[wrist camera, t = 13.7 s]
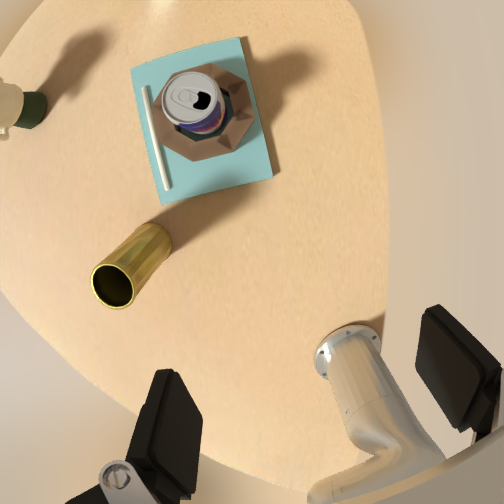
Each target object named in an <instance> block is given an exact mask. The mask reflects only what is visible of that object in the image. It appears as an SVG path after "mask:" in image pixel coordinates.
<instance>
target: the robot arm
mask: <svg viewBox="0 0 504 504" xmlns="http://www.w3.org/2000/svg"><path fill="white" fill-rule="evenodd" d="M380 351H381V340H380V337H379V336H378V334H377V333H376V332H375V331H374V329H372V328H370V327H368V326H365V325H350V326H345V327H343V328H340V329H338V330H336V331H334V332H333V333H331V334H330V335H328V336H327V337H326V338H325V339H324V340H323V341H322V342H321V343H320V345H319V346H318V348H317V350H316V352H315V356H314V364H315V368H316V370H317V372H318V374H319V375H320V376H322V377H323V378H325V379H327V380H329V381H330V384H331V387H332V390H333V393H334V396H335V399H336V402H337V405H338V408H339V410H340V413H341V416H342V419H343V422H344V425H345V428H346V432H347V435H348V437H349V439H350V441H351V442H352V443H353V444H354V445H355V446H356V447H357V448H359V449H360V450H362V451H365V452H367V453H369V454H372V455H375V456H374V457H372V458H370V459H368V460H366V461H365V462H363V463H361V464H359V465H356V466H354V467H352V468H349V469H347V470H344V471H342V472H339V473H337V474H334V475H332V476H329V477H326V478H324V479H322V480H320V481H318V482H316V483H315V484H314V485H313V486H312V487H311V488H310V490H309V492H308V495H307V504H504V369H502V368H501V364H500V363H499V362H498V361H497V360H496V359H495V358H494V356H493V355H492V354H491V353H489V351H488V350H487V349H486V348H485V347H484V346H483V345H482V344H481V343H480V342H479V341H478V340H477V339H476V338H475V337H474V336H473V335H472V334H471V333H470V332H469V331H468V330H467V329H466V328H465V327H464V326H463V325H462V324H461V323H460V322H458V321H457V320H456V319H455V318H454V317H453V316H452V315H451V314H450V313H449V312H448V311H447V310H446V309H444V307H442V306H441V305H440V304H437V305H435V306H432V307H430V308H427V309H426V310H425V313H424V314H423V315H422V320H421V328H420V337H419V343H418V350H417V356H416V362H415V367H416V371H417V373H418V374H419V375H420V377H421V378H422V380H423V381H424V383H425V384H426V386H427V387H428V389H429V390H430V392H431V393H432V395H433V397H434V398H435V400H436V401H437V403H438V404H439V406H440V407H441V409H442V410H443V412H444V414H445V415H446V417H447V419H448V420H449V422H450V423H451V425H452V427H453V428H455V429H456V428H457V429H458V430H459V432H460V433H461V432H463V431H465V430H467V429H468V428H470V427H471V428H472V429H473V431H474V433H473V437H472V442H471V446H470V447H468V448H466V449H465V450H463V451H461V452H459V453H457V454H456V455H454V456H452V457H450V458H449V459H446V457H445V455H444V454H443V452H442V451H441V449H440V448H439V447H438V446H437V445H436V443H435V442H434V441H433V440H432V438H431V437H430V436H429V435H428V434H427V432H426V431H425V430H424V428H423V427H422V425H421V424H420V422H419V421H418V419H417V418H416V416H415V415H414V413H413V411H412V409H411V407H410V406H409V404H408V402H407V400H406V399H405V397H404V395H403V393H402V392H401V390H400V388H399V386H398V385H397V383H396V381H395V379H394V378H393V376H392V375H391V372H390V371H389V369H388V368H387V366H386V364H385V362H384V361H383V359H382V357H381V356H380ZM202 426H203V418H202V415H201V413H200V411H199V410H198V408H197V406H196V404H195V403H194V401H193V399H192V397H191V395H190V394H189V392H188V390H187V388H186V386H185V384H184V382H183V380H182V379H181V377H180V375H179V373H178V372H174V370H173V369H162V370H157V371H156V372H155V375H154V378H153V381H152V384H151V387H150V390H149V393H148V396H147V399H146V402H145V404H144V405H143V406H142V408H141V411H140V414H139V417H138V420H137V423H136V426H135V430H134V433H133V436H132V439H131V442H130V446H129V449H128V452H127V456H126V459H125V461H122V460H116V461H112V462H110V463H108V464H106V465H105V466H104V467H103V468H102V470H101V472H100V474H99V483H100V484H98V485H96V486H94V487H93V488H91V489H89V490H87V491H86V492H84V493H82V494H80V495H78V496H76V497H74V498H73V499H71V500H69V501H67V502H66V503H65V504H180V500H191V494H194V493H195V491H196V482H197V472H198V463H199V453H200V444H201V435H202Z"/></svg>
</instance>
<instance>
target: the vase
mask: <svg viewBox="0 0 504 504" xmlns="http://www.w3.org/2000/svg"><path fill="white" fill-rule="evenodd" d="M171 247H172V244H171V239H170V236H169V234H168V233H167V232H166V230H165V229H164V228H162V227H161V226H159V225H157V224H154V223H146V224H143V225H141V226H140V227H138V228H137V229H136V230H135V231H134V232H133V233H132V234H131V235H130V236H129V237H128V238H127V239H126V240H125V241H124V242H123V243H122V244H121V245H120V246H119V247H118V248H116V249H115V250H114V251H113V252H112V253H111V254H110V255H109V256H107V257H106V258H105V259H104V260H103V261H102V262H101V263H99V264H98V265H97V266H96V267H95V268H94V269H93V271H92V274H91V278H90V282H91V287H92V291H93V293H94V295H95V296H96V298H97V299H98V300H99V301H100V302H101V303H102V304H103V305H105V306H107V307H109V308H111V309H124V308H126V307H128V306H130V305H131V304H132V303H133V301H134V299H135V298H136V296H137V295H138V293H139V292H140V290H141V289H142V288H143V286H144V285H145V284H146V282H147V281H148V280H149V278H150V277H151V275H152V274H153V273H154V271H155V270H156V269H157V268H158V267H159V266H160V265H161V264H162V263H163V261H165V260H166V259H167V258H168V256H169V255H170V252H171Z"/></svg>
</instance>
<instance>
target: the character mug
mask: <svg viewBox="0 0 504 504" xmlns="http://www.w3.org/2000/svg"><path fill="white" fill-rule="evenodd" d="M46 105H47V104H46V97H45V96H44V95H43V94H42V93H40V92H22V89H21V88H19V87H18V86H17V85H14V84H8V83H3V78H1V77H0V132H3V134H0V141H6V140H8V139H9V130H8V129H9V128H11V127H12V126H17V127H21V128H26V129H32V128H34V127H35V126H36V125H37V124H38V123H39V122H40V121H41V119H42V117H43V115H44V113H45V110H46Z"/></svg>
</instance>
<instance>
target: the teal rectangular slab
mask: <svg viewBox="0 0 504 504" xmlns="http://www.w3.org/2000/svg"><path fill="white" fill-rule="evenodd" d="M208 63H213V64H215V65H217V66H219V67H221V68H223V69H225V70H227V71H229V72H231V73H233V74H235V75H236V76H238V77H240V78H242V79H244V80H245V81H246V83H247V87H248V91H249V95H250V99H251V103H252V107H253V111H254V115H255V119H254V122H253V123H252V125H251V126H250V128H249V129H248V131H247V132H246V134H245V136H244V137H243V139H242V140H241V142H240V143H239V145H238V146H237V148H236V149H235V151H233V152H232V153H228V154H224V155H220V156H216V157H212V158H208V159H204V160H200V161H196V162H192V161H190V160H188V159H187V158H185V157H183V156H181V155H180V154H178V153H176V152H174V151H173V150H171V149H169V148H167V147H165V146H164V145H162V144H160V143H159V140H158V136H157V132H156V127H155V123H154V118H153V114H152V109H151V107H152V104H153V103H154V101H155V99H156V98H157V96H158V95H159V93H160V91H161V90H162V88H163V87H164V85H165V84H166V82H167V81H168V79H169V78H170V76H171V75H172V74H173V73H176V72H179V71H182V70H186V69H189V68H193V67H196V66H200V65H204V64H208ZM130 70H131V76H132V82H133V87H134V92H135V97H136V102H137V107H138V112H139V117H140V121H141V126H142V130H143V135H144V139H145V144H146V148H147V152H148V156H149V160H150V164H151V168H152V172H153V176H154V179H155V183H156V187H157V191H158V194H159V198H160V201H161V205H164V204H168V203H171V202H175V201H179V200H182V199H186V198H190V197H194V196H197V195H201V194H205V193H209V192H213V191H217V190H221V189H225V188H229V187H234V186H238V185H242V184H246V183H251V182H255V181H260V180H264V179H269V178H273V174H272V169H271V165H270V160H269V156H268V151H267V147H266V143H265V138H264V134H263V130H262V126H261V121H260V117H259V113H258V109H257V105H256V101H255V97H254V93H253V89H252V85H251V81H250V77H249V73H248V69H247V66H246V62H245V58H244V54H243V51H242V47H241V43H240V40H239V37H237V38H232V39H227V40H222V41H218V42H214V43H209V44H205V45H202V46H198V47H194V48H190V49H187V50H183V51H180V52H177V53H174V54H170V55H167V56H164V57H161V58H158V59H156V60H153V61H150V62H147V63H145V64H142V65H139V66H137V67H134V68H132V69H130ZM221 94H222V97H223V100H224V103H225V105H226V108H227V120H226V122H225V124H224V126H223V127H222V128H221V129H220V130H219V131H217V132H216V133H214V134H211V135H199V134H196V133H194V132H192V131H190V130H187V129H185V128H183V127H181V126H180V129H181V133H183V134H185V135H187V136H189V137H190V138H192V139H194V140H196V141H201V140H205V139H208V138H212V137H216V136H220V135H221V134H222V132H223V131H224V129H225V128H226V126H227V125H228V123H229V122H230V120H231V119H232V117H233V116H234V112H233V108H232V104H231V99H230V97H228V96H226V95H225V94H223V93H221Z"/></svg>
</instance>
